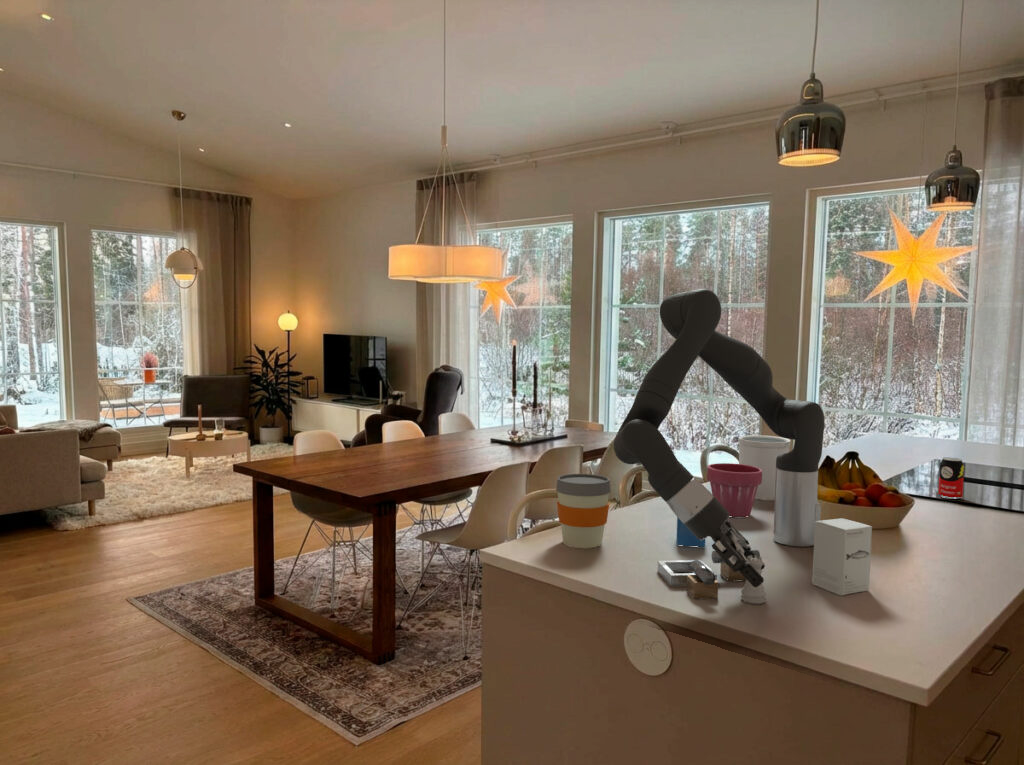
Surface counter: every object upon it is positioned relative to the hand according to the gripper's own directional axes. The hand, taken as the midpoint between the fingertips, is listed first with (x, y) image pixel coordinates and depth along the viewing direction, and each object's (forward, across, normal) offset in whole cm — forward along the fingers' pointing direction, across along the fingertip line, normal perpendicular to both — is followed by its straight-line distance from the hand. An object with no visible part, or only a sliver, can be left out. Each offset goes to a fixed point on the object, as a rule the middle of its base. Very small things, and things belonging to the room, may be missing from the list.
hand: (760, 576), depth 131 cm
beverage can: (+40, +113, -33) cm, 125 cm away
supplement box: (+14, +14, -7) cm, 21 cm away
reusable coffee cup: (-24, +25, +31) cm, 47 cm away
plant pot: (-2, +67, +9) cm, 68 cm away
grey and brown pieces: (-2, +7, +9) cm, 11 cm away
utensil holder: (+3, +95, +4) cm, 95 cm away
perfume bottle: (-8, +34, +15) cm, 38 cm away
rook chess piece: (+3, +1, +4) cm, 5 cm away
